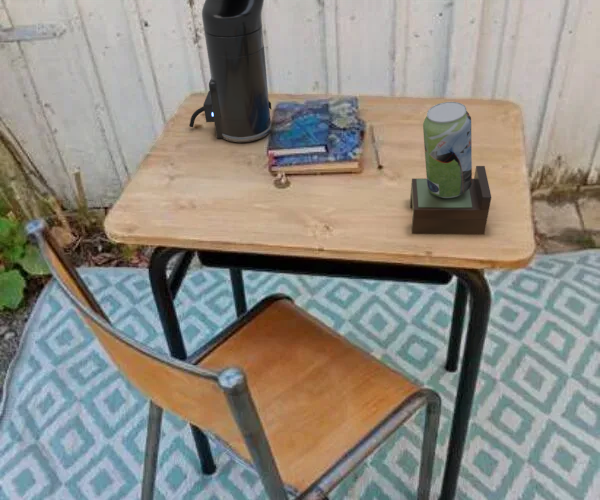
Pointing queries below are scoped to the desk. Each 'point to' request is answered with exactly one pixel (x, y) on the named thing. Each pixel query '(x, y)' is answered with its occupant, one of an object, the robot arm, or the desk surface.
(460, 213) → the miniature bed
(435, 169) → the beverage can
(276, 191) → the desk surface
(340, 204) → the desk surface
